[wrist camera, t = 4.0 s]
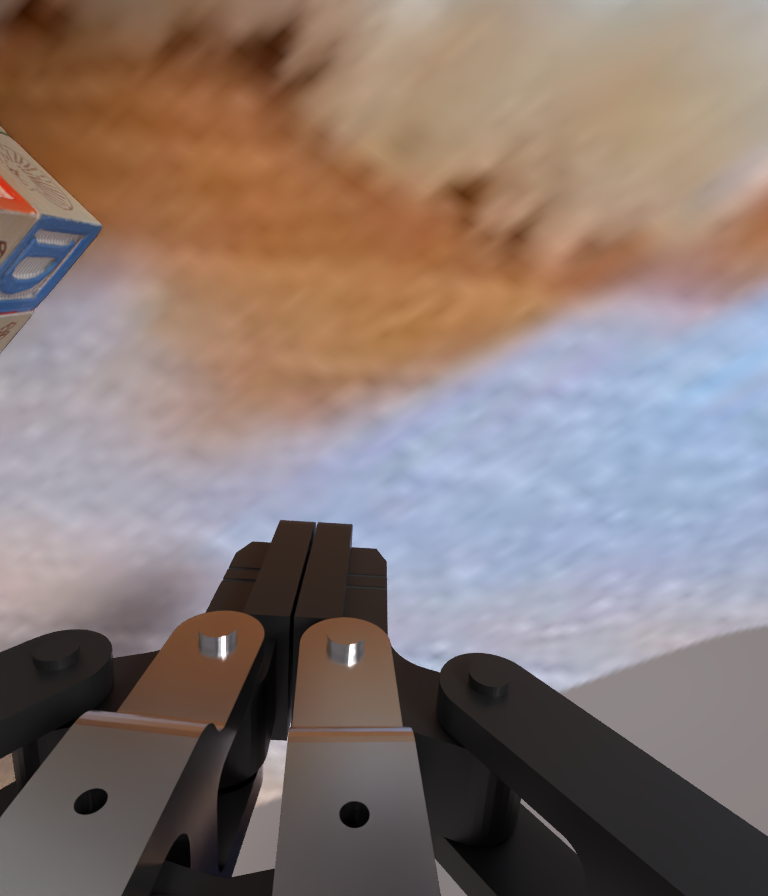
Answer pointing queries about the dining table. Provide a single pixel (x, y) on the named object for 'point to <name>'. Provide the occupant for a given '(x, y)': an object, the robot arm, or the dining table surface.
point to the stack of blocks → (34, 235)
